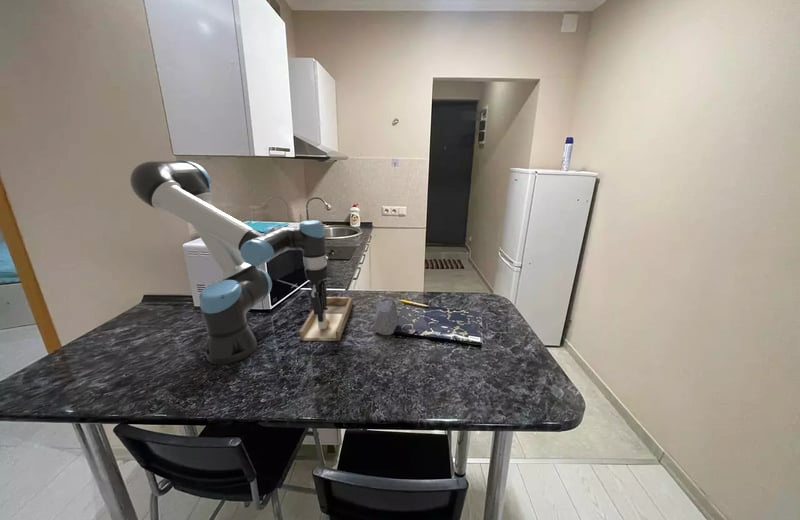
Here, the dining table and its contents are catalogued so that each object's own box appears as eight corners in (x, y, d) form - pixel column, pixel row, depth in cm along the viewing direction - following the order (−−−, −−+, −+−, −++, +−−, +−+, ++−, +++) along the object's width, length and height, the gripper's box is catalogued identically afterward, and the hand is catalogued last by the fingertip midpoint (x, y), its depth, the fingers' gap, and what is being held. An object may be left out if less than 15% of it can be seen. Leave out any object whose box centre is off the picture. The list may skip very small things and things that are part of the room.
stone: (379, 324, 121) (403, 319, 119) (375, 342, 113) (400, 337, 110) (368, 301, 116) (392, 295, 114) (363, 318, 107) (389, 312, 105)
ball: (316, 327, 110) (318, 316, 112) (319, 329, 114) (321, 318, 116) (327, 327, 110) (329, 316, 112) (329, 329, 114) (331, 319, 116)
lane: (300, 340, 108) (299, 331, 107) (321, 304, 134) (320, 297, 133) (339, 340, 108) (338, 331, 107) (352, 304, 134) (352, 297, 133)
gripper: (321, 273, 97) (328, 337, 104) (331, 260, 109) (337, 318, 117) (298, 273, 97) (306, 337, 105) (311, 260, 109) (317, 318, 117)
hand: (322, 327), depth 111 cm, fingers closed
